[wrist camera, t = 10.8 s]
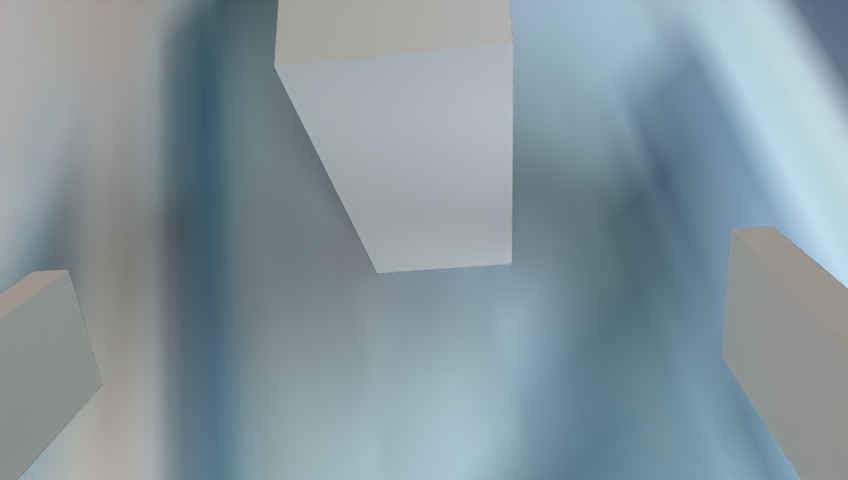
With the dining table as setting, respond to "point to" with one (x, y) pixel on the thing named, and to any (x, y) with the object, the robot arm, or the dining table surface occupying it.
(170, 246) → the dining table surface
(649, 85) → the dining table surface
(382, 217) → the light grey rectangular block
